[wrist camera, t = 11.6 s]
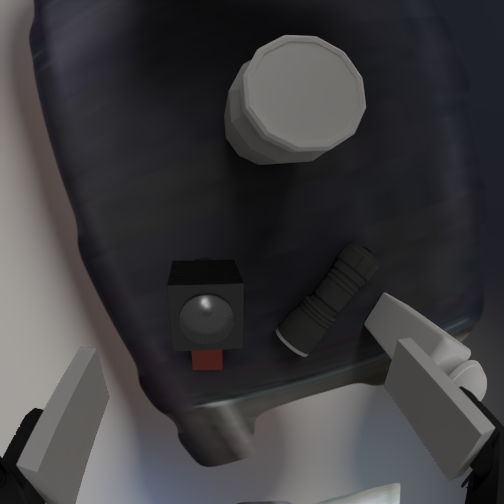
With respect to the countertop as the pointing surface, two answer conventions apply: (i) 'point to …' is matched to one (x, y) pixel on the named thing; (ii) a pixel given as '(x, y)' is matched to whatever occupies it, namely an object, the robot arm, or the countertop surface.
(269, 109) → the jar
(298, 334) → the flashlight
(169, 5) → the countertop surface
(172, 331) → the speaker cube
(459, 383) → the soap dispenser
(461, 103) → the countertop surface
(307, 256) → the countertop surface
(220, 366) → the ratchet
